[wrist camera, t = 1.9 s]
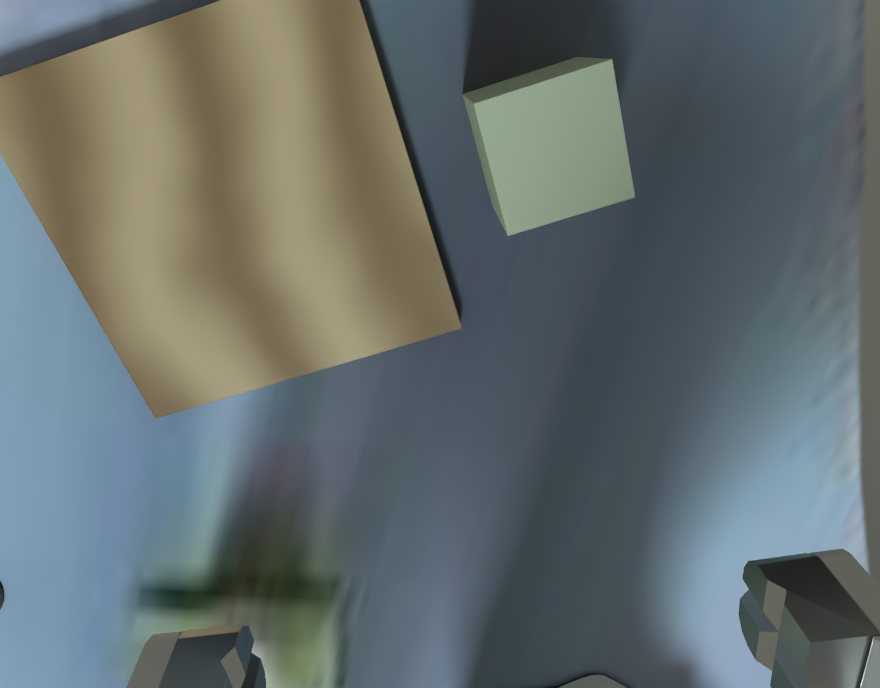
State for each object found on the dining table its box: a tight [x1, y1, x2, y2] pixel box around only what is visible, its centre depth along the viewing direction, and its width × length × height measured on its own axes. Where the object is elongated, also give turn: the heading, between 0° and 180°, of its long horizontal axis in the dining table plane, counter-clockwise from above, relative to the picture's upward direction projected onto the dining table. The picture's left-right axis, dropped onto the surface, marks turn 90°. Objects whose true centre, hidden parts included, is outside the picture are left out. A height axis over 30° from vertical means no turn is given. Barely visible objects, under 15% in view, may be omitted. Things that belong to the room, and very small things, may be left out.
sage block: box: [463, 57, 635, 236], centre depth 26 cm, size 5×5×5 cm
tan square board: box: [0, 0, 462, 418], centre depth 28 cm, size 16×16×1 cm
